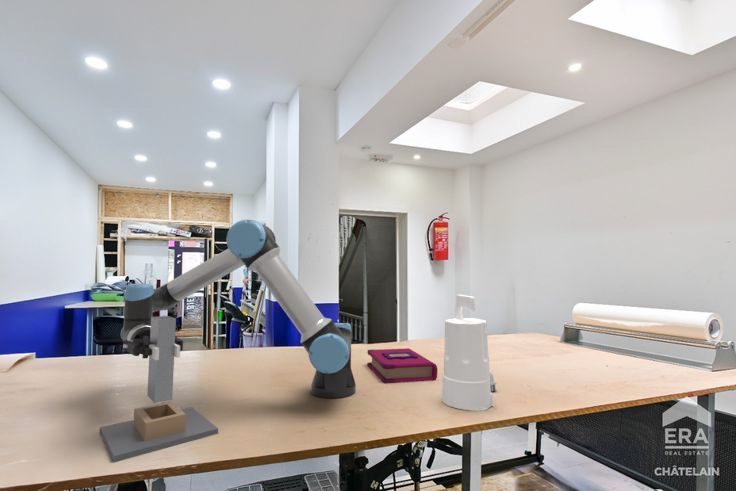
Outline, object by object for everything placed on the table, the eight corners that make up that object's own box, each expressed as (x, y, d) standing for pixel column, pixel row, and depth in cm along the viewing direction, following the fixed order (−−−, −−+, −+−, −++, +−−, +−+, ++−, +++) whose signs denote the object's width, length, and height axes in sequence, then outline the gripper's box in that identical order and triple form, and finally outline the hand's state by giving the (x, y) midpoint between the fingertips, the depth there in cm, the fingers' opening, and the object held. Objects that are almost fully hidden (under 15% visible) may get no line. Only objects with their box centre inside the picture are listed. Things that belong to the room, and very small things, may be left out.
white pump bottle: (503, 406, 117) (501, 296, 119) (463, 413, 111) (461, 297, 113) (469, 391, 131) (468, 293, 133) (432, 397, 125) (432, 294, 127)
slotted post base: (191, 411, 111) (192, 392, 111) (218, 433, 96) (218, 412, 97) (99, 432, 96) (100, 410, 97) (114, 462, 82) (115, 436, 82)
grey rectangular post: (164, 392, 101) (168, 315, 102) (172, 399, 96) (175, 318, 97) (147, 395, 98) (151, 316, 99) (154, 403, 93) (158, 319, 94)
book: (412, 363, 172) (412, 346, 172) (437, 381, 145) (437, 361, 145) (366, 366, 167) (366, 348, 168) (383, 384, 140) (383, 363, 140)
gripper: (176, 348, 116) (203, 363, 99) (108, 356, 105) (126, 374, 88) (177, 323, 117) (204, 334, 100) (110, 329, 106) (128, 341, 88)
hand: (167, 353), depth 94 cm, fingers closed on grey rectangular post, 4 cm apart
